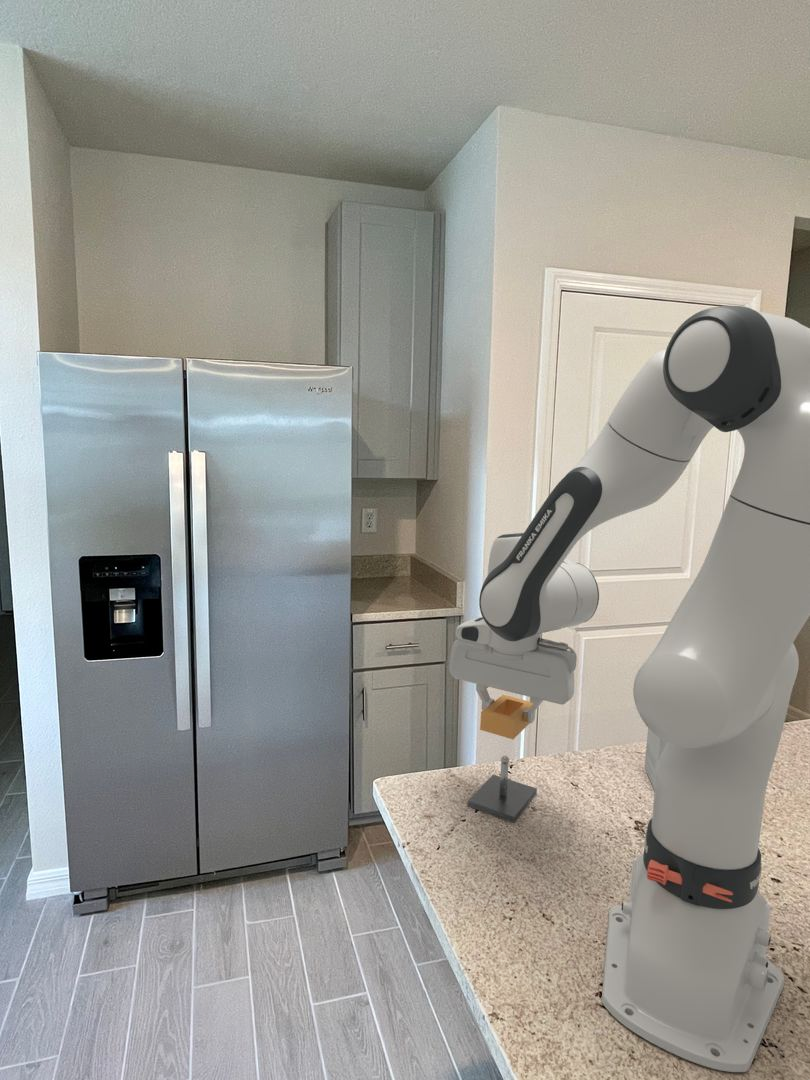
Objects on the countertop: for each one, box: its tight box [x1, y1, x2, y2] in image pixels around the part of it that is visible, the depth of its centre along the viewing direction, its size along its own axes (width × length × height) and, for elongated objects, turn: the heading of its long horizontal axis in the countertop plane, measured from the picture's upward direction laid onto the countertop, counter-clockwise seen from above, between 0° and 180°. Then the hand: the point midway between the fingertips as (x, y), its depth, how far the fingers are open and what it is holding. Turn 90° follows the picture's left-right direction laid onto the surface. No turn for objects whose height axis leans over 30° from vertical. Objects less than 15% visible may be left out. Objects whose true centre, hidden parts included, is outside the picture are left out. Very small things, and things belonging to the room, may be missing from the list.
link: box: [479, 694, 534, 740], centre depth 103 cm, size 9×6×3 cm, turn 148°
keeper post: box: [467, 755, 538, 823], centre depth 105 cm, size 10×8×8 cm
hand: (507, 715), depth 103 cm, fingers closed on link, 6 cm apart
